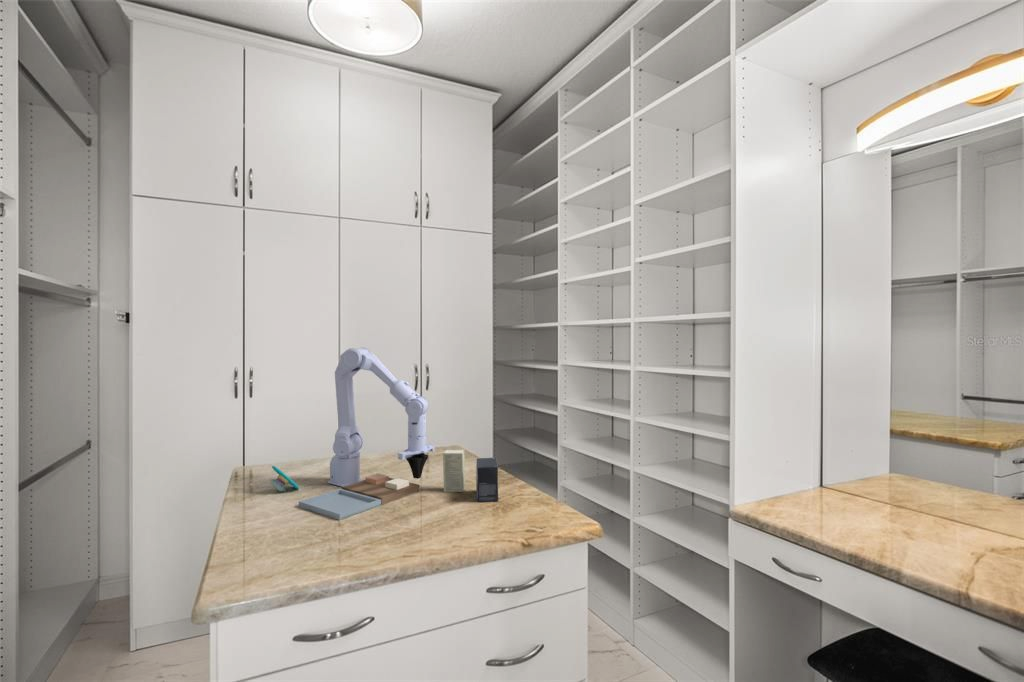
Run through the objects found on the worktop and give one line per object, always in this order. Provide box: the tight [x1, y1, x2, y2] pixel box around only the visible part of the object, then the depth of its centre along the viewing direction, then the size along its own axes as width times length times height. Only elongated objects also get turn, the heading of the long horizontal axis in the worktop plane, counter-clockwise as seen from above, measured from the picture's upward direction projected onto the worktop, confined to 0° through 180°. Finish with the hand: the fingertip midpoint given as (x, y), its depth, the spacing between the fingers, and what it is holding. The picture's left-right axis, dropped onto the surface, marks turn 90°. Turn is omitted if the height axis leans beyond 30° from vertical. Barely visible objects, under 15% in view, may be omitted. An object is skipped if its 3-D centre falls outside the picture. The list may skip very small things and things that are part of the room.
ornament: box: [269, 465, 300, 493], centre depth 155 cm, size 11×4×10 cm
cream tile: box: [385, 477, 410, 490], centre depth 154 cm, size 5×5×2 cm
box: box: [298, 488, 382, 521], centre depth 142 cm, size 18×14×2 cm
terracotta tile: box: [365, 473, 390, 485], centre depth 159 cm, size 5×5×2 cm
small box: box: [475, 457, 499, 503], centre depth 151 cm, size 11×6×10 cm, turn 5°
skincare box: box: [442, 449, 466, 493], centre depth 157 cm, size 6×4×12 cm
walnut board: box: [340, 477, 421, 506], centre depth 154 cm, size 18×15×2 cm
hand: (417, 477), depth 161 cm, fingers closed
